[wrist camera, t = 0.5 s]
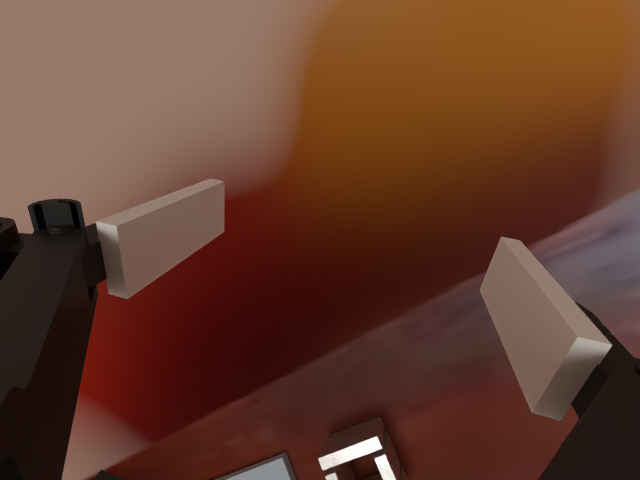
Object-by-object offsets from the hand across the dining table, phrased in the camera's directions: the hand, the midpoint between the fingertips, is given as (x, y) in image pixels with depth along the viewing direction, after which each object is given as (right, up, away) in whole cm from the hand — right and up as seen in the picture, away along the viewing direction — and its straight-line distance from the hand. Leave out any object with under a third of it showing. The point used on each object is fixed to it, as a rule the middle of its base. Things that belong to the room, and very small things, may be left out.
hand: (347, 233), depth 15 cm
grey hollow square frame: (+5, -30, +28) cm, 41 cm away
